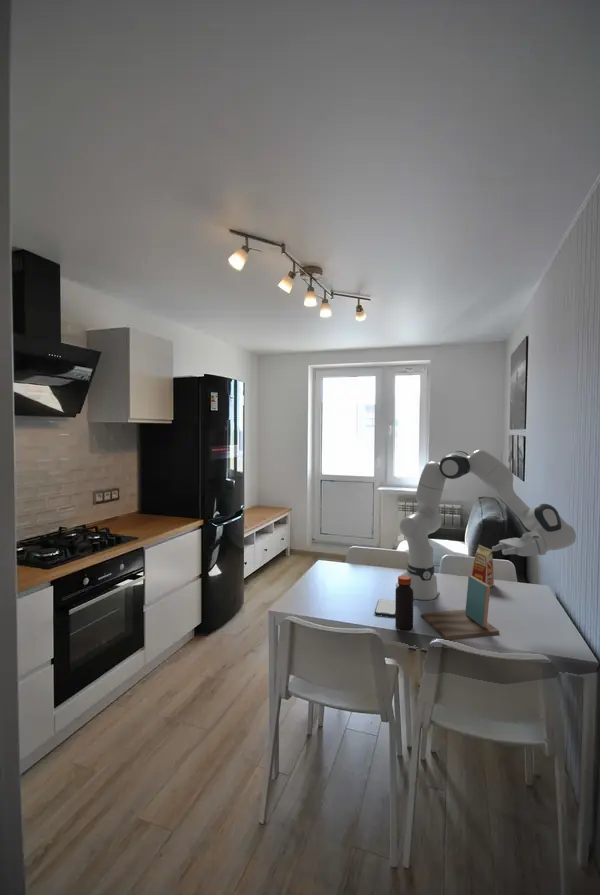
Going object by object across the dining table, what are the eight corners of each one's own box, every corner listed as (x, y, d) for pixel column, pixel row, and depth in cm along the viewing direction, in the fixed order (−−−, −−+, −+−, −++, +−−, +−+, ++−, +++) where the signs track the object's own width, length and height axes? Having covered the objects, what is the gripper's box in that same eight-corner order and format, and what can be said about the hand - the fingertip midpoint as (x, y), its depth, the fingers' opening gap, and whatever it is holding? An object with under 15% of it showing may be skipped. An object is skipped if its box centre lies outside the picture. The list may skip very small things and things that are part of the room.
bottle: (410, 623, 171) (410, 574, 170) (415, 631, 164) (415, 580, 164) (393, 623, 171) (393, 574, 170) (397, 631, 164) (398, 580, 163)
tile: (464, 614, 176) (468, 575, 175) (468, 614, 176) (472, 575, 176) (482, 627, 164) (486, 586, 164) (486, 627, 164) (490, 586, 164)
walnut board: (420, 616, 178) (420, 613, 178) (468, 611, 182) (468, 609, 182) (445, 639, 158) (445, 636, 158) (499, 633, 162) (499, 630, 162)
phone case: (378, 602, 194) (374, 616, 179) (378, 598, 194) (374, 612, 179) (398, 604, 192) (395, 618, 176) (398, 600, 192) (395, 614, 176)
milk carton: (470, 585, 213) (470, 545, 212) (478, 580, 219) (479, 542, 218) (488, 590, 206) (488, 549, 206) (496, 585, 213) (497, 545, 212)
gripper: (518, 532, 179) (485, 539, 180) (543, 538, 159) (506, 546, 159) (522, 547, 179) (489, 554, 179) (548, 555, 158) (511, 563, 159)
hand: (497, 550), depth 169 cm, fingers open, 8 cm apart
